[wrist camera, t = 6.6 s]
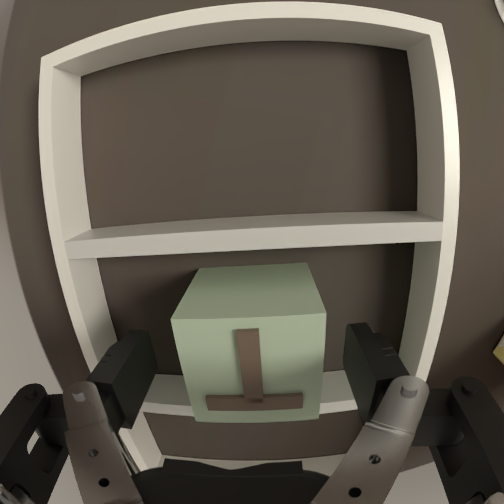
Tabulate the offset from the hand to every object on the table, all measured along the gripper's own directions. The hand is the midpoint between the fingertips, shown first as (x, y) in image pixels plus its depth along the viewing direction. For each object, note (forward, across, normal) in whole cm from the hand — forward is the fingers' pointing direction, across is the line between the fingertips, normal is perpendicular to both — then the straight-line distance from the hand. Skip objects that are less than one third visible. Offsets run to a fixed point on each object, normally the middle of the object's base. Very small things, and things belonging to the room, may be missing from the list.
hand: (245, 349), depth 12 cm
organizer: (+3, 0, 0) cm, 3 cm away
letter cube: (+3, 0, 0) cm, 3 cm away
